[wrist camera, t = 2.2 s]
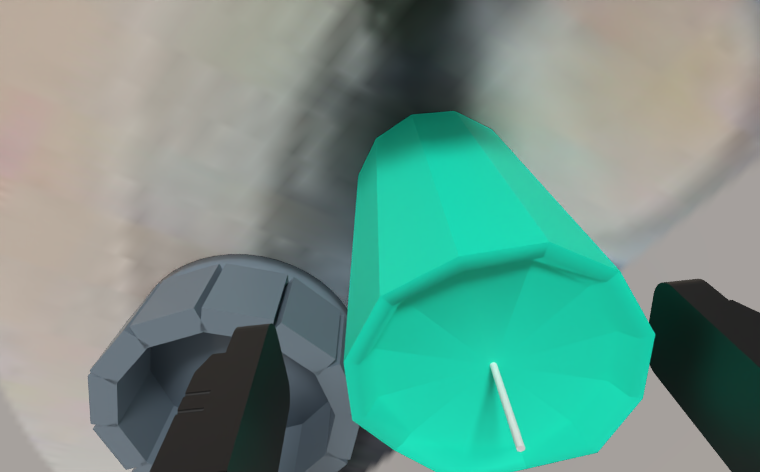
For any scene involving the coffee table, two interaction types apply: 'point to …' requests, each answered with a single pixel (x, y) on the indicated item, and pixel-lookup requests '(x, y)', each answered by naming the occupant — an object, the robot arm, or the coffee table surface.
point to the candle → (482, 309)
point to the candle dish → (211, 336)
